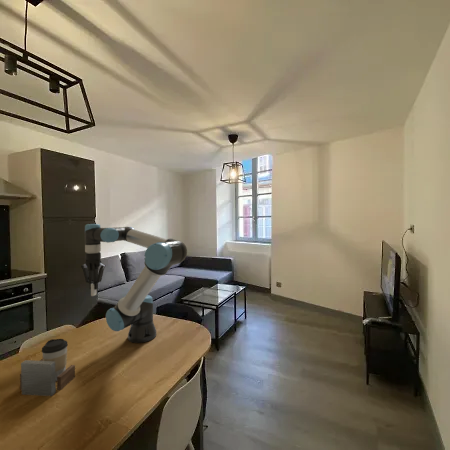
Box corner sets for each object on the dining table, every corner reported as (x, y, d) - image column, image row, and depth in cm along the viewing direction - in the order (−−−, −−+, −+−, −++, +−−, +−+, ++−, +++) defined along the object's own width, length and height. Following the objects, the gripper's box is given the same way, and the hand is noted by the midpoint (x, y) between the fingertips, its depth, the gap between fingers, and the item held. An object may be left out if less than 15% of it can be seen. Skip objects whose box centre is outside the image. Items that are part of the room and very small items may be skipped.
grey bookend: (55, 392, 96) (55, 361, 95) (51, 396, 94) (51, 364, 93) (26, 390, 97) (25, 360, 96) (21, 394, 95) (21, 363, 94)
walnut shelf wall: (89, 363, 115) (89, 350, 115) (59, 391, 96) (58, 376, 96) (57, 361, 116) (56, 348, 116) (20, 389, 97) (19, 374, 97)
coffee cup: (73, 373, 107) (72, 338, 107) (51, 386, 99) (50, 349, 99) (59, 368, 111) (58, 335, 111) (37, 380, 103) (36, 344, 102)
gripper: (108, 251, 140) (109, 293, 140) (86, 251, 141) (86, 292, 141) (100, 253, 132) (101, 297, 133) (77, 253, 133) (78, 297, 134)
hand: (93, 295), depth 137 cm, fingers closed
